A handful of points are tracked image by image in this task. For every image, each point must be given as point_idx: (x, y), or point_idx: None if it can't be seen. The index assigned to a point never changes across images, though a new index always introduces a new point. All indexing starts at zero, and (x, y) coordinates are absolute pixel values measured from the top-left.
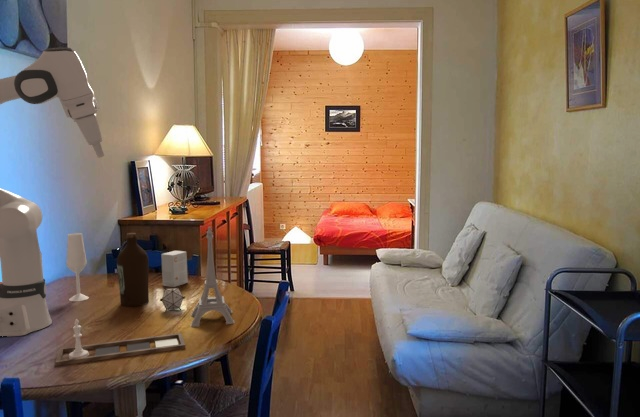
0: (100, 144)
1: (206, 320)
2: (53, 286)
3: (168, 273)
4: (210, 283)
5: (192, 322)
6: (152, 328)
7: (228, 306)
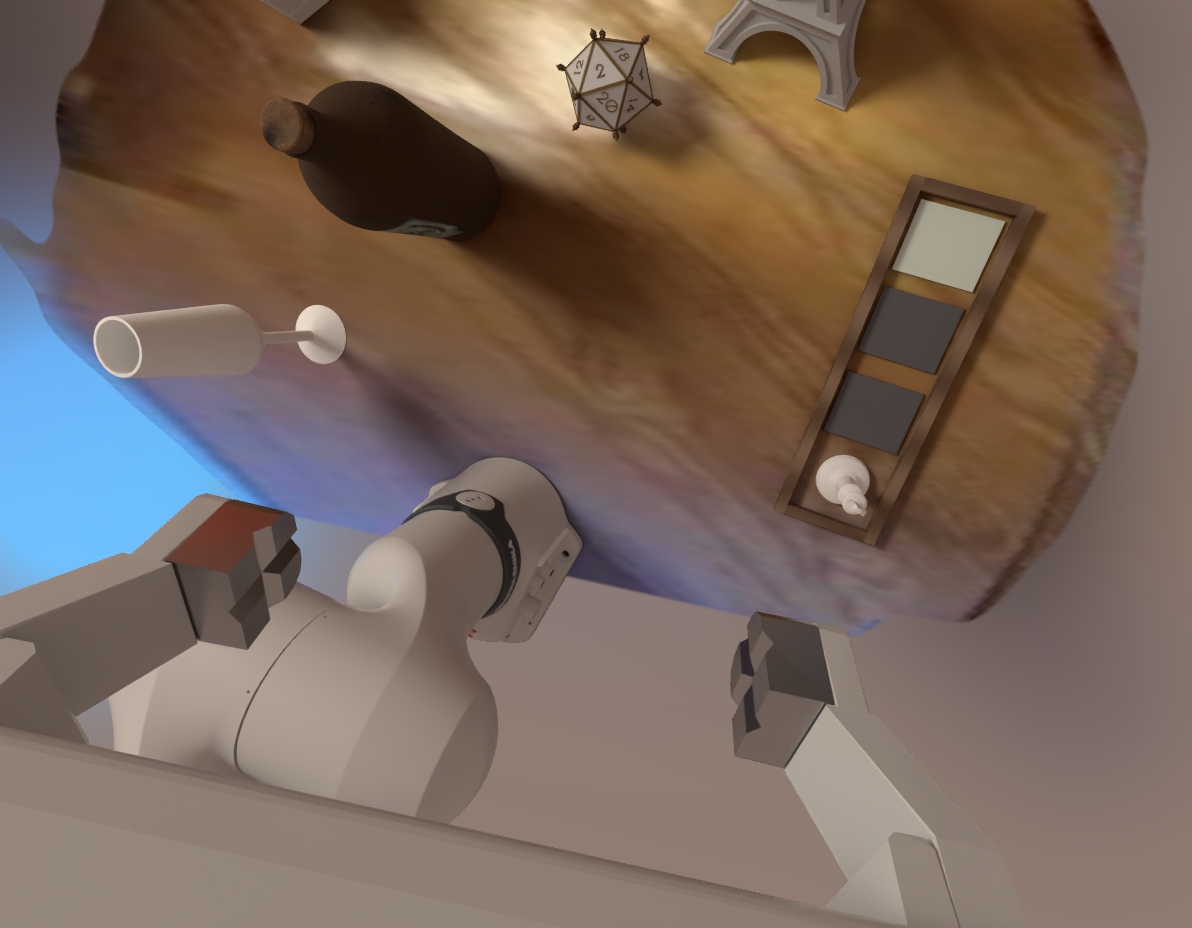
0: (1003, 863)
1: None
2: None
3: None
4: None
5: (826, 93)
6: (762, 232)
7: None
